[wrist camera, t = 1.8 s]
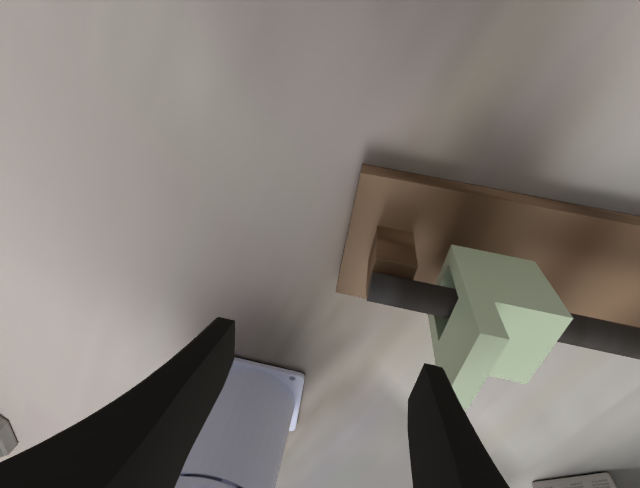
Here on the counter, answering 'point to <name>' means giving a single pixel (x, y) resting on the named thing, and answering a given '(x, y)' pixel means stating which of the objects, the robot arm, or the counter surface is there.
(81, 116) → the counter surface
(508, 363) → the sleeve
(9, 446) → the tankard
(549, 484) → the coffee box
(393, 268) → the cord rail
